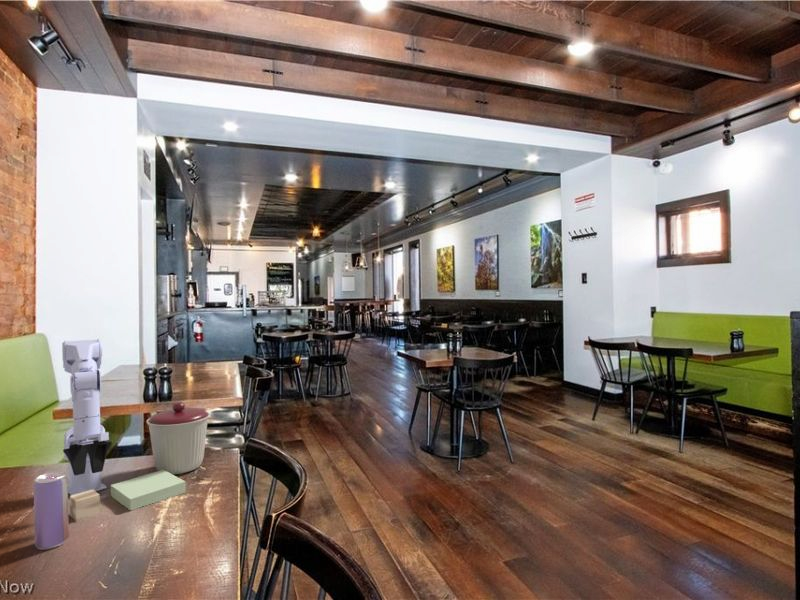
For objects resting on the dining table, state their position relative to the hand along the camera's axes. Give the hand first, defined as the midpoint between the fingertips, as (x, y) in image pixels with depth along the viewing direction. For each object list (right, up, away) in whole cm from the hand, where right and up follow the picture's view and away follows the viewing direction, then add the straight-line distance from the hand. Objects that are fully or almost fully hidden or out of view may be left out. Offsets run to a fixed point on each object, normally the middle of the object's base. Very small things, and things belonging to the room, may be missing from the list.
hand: (88, 473), depth 114 cm
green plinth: (+8, -10, +12) cm, 18 cm away
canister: (+8, -10, +30) cm, 33 cm away
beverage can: (+1, -11, -13) cm, 17 cm away
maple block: (-1, -11, +1) cm, 11 cm away
